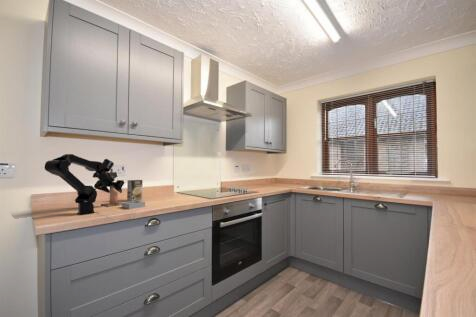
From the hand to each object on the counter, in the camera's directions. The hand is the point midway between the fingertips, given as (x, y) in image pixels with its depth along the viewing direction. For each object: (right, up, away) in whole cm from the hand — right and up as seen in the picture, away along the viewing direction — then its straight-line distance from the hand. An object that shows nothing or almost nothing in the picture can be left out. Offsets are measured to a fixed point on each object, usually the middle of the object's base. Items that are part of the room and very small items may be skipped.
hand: (115, 192), depth 153 cm
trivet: (0, -9, -2) cm, 9 cm away
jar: (0, -8, -2) cm, 8 cm away
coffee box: (+3, -10, +21) cm, 24 cm away
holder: (+18, -9, -11) cm, 23 cm away
